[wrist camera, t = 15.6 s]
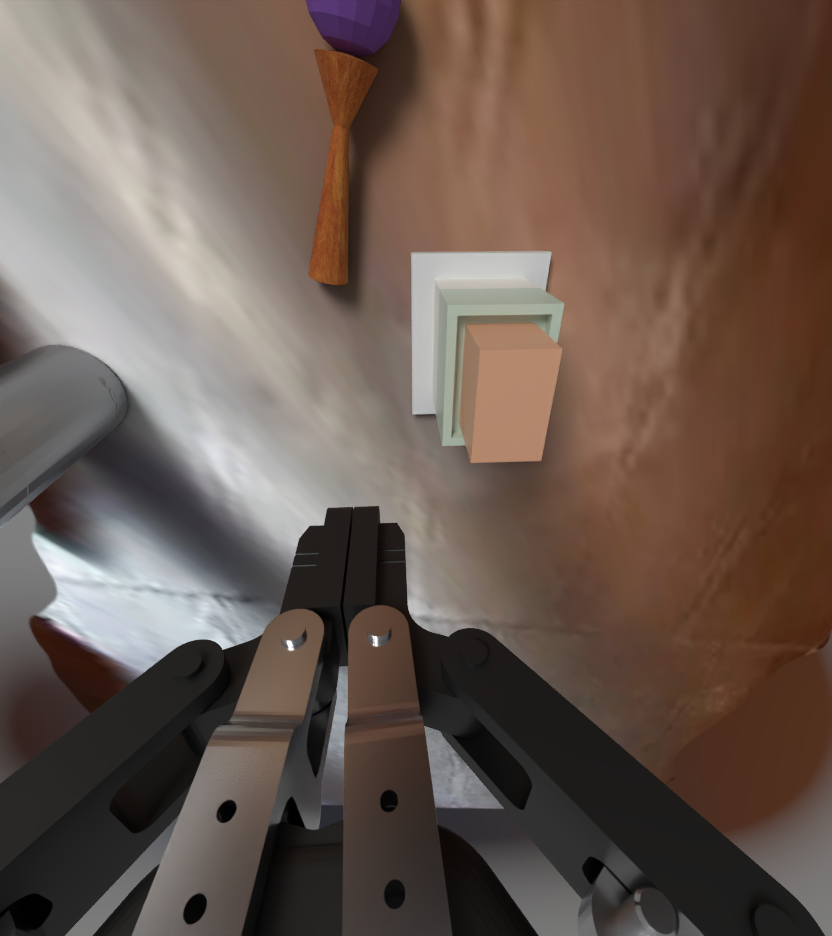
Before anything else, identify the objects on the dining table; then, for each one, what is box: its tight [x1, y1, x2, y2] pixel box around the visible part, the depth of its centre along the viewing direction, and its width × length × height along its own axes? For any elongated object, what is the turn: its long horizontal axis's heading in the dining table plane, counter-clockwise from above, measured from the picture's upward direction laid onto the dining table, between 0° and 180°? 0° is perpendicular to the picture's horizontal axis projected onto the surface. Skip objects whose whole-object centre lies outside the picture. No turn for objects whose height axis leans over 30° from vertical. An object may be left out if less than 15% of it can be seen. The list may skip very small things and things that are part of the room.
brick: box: [459, 322, 563, 463], centre depth 30 cm, size 8×5×6 cm, turn 0°
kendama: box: [306, 0, 401, 285], centre depth 30 cm, size 6×6×20 cm
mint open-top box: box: [411, 251, 564, 446], centre depth 36 cm, size 15×12×11 cm
